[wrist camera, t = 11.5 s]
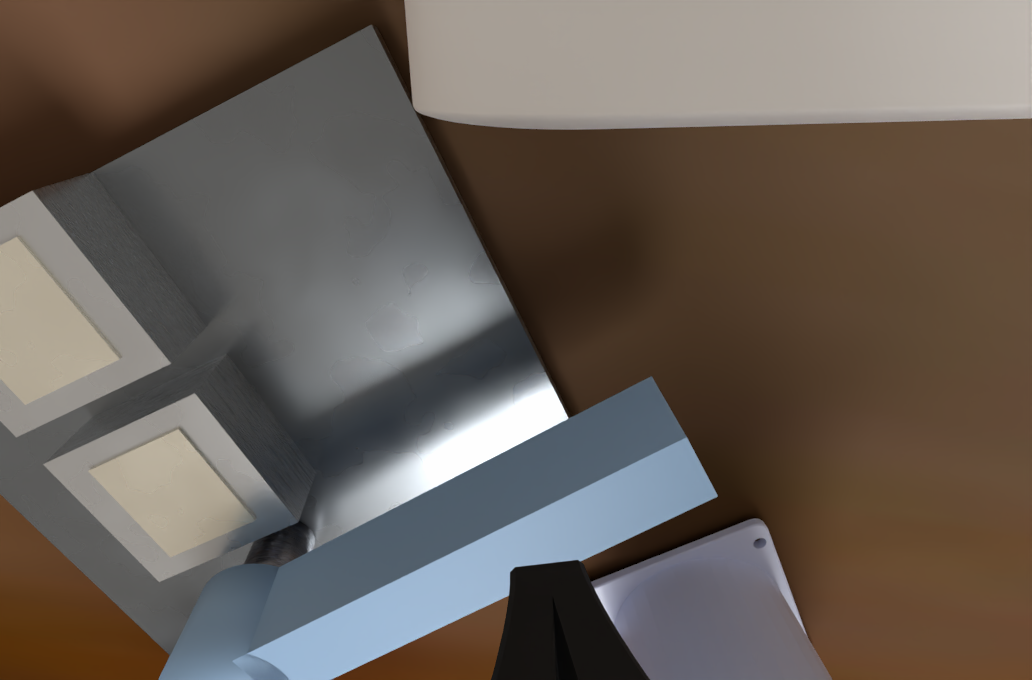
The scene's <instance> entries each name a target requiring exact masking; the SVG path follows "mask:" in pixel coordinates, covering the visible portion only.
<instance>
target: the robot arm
mask: <svg viewBox="0 0 1032 680" xmlns="http://www.w3.org/2000/svg"><path fill="white" fill-rule="evenodd" d="M759 538H761V539H759ZM757 539H759V540H758V541H755V540H757ZM491 680H832V678H831V676H830V675H829V673H828V671H827V670H826V668H825V666H824V664H823V663H822V661H821V659H820V658H819V656H818V654H817V652H816V651H815V649H814V647H813V646H812V644H811V642H810V641H809V639H808V637H807V634H806V631H805V629H804V626H803V623H802V620H801V618H800V615H799V612H798V609H797V607H796V604H795V601H794V598H793V596H792V593H791V590H790V587H789V585H788V582H787V579H786V576H785V574H784V571H783V568H782V566H781V563H780V560H779V557H778V555H777V552H776V549H775V546H774V544H773V541H772V538H771V535H770V533H769V530H768V528H767V526H766V525H765V523H764V522H763V521H762V520H760V519H755V518H754V519H750V520H747V521H744V522H742V523H739V524H737V525H734V526H732V527H729V528H727V529H724V530H722V531H719V532H716V533H714V534H711V535H709V536H706V537H704V538H701V539H699V540H696V541H694V542H691V543H688V544H686V545H683V546H681V547H678V548H676V549H673V550H671V551H668V552H666V553H663V554H661V555H658V556H655V557H653V558H650V559H648V560H645V561H643V562H640V563H638V564H635V565H633V566H630V567H628V568H625V569H622V570H620V571H617V572H615V573H612V574H610V575H607V576H605V577H602V578H600V579H597V580H594V581H592V582H591V581H590V579H589V576H588V574H587V572H586V569H585V567H584V564H583V563H581V562H580V561H579V560H572V561H563V562H555V563H546V564H537V565H529V566H520V567H515V568H514V569H513V570H512V571H511V572H510V590H509V600H508V607H507V614H506V619H505V625H504V630H503V634H502V639H501V643H500V647H499V651H498V656H497V660H496V664H495V668H494V672H493V675H492V679H491Z"/></svg>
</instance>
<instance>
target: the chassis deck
mask: <svg viewBox="0 0 1032 680" xmlns="http://www.w3.org/2000/svg"><path fill="white" fill-rule="evenodd" d="M92 173H93V175H94V176H95V177H96V179H97V180H98V181H99V183H100V184H101V185H102V187H103V188H104V189H105V191H106V192H107V193H108V195H109V196H110V197H111V199H112V200H113V201H114V203H115V204H116V205H117V207H118V208H119V209H120V211H121V212H122V213H123V215H124V216H125V217H126V219H127V220H128V221H129V223H130V224H131V225H132V227H133V228H134V229H135V231H136V232H137V233H138V235H139V236H140V237H141V239H142V240H143V241H144V243H145V244H146V245H147V247H148V248H149V249H150V251H151V252H152V253H153V255H154V256H155V257H156V259H157V260H158V261H159V263H160V264H161V265H162V267H163V268H164V269H165V271H166V272H167V273H168V275H169V276H170V277H171V279H172V280H173V281H174V283H175V284H176V285H177V287H178V288H179V289H180V291H181V292H182V293H183V295H184V296H185V297H186V299H187V300H188V301H189V303H190V304H191V305H192V307H193V308H194V309H195V311H196V312H197V313H198V315H199V316H200V317H201V319H202V320H203V321H204V323H205V324H206V325H207V327H206V328H205V329H204V330H203V331H202V332H201V333H200V334H199V335H198V336H197V337H196V338H195V339H194V340H193V341H192V342H191V343H190V345H189V346H188V347H187V348H186V349H185V350H184V351H183V352H182V353H181V354H180V355H179V356H178V357H177V358H176V359H175V360H174V361H173V362H172V363H171V364H169V365H167V366H165V367H163V368H161V369H159V370H157V371H155V372H152V373H150V374H148V375H146V376H144V377H142V378H140V379H138V380H136V381H134V382H132V383H129V384H127V385H125V386H123V387H121V388H119V389H117V390H115V391H113V392H111V393H108V394H106V395H104V396H102V397H100V398H98V399H96V400H94V401H92V402H90V403H88V404H85V405H83V406H81V407H79V408H77V409H75V410H73V411H71V412H69V413H67V414H64V415H62V416H60V417H58V418H56V419H54V420H52V421H50V422H48V423H46V424H43V425H41V426H39V427H37V428H35V429H33V430H31V431H29V432H27V433H25V434H23V435H20V436H18V437H15V436H14V435H13V434H12V433H11V431H10V430H9V429H8V428H7V427H6V426H5V425H4V424H3V423H2V422H1V421H0V494H1V495H2V496H3V497H4V498H5V499H6V500H7V501H8V502H9V503H10V504H11V505H12V506H13V507H14V508H16V509H17V510H18V511H19V512H20V513H21V514H22V515H23V516H24V517H25V518H26V519H27V520H28V521H29V522H30V523H31V524H32V525H33V526H34V527H36V528H37V529H38V530H39V531H40V532H41V533H42V534H43V535H44V536H45V537H46V538H47V539H48V540H49V541H50V542H51V543H52V544H53V545H54V546H56V547H57V548H58V549H59V550H60V551H61V552H62V553H63V554H64V555H65V556H66V557H67V558H68V559H69V560H70V561H71V562H72V563H73V564H74V565H76V566H77V567H78V568H79V569H80V570H81V571H82V572H83V573H84V574H85V575H86V576H87V577H88V578H89V579H90V580H91V581H92V582H93V583H94V584H96V585H97V586H98V587H99V588H100V589H101V590H102V591H103V592H104V593H105V594H106V595H107V596H108V597H109V598H110V599H111V600H112V601H113V602H114V603H116V604H117V605H118V606H119V607H120V608H121V609H122V610H123V611H124V612H125V613H126V614H127V615H128V616H129V617H130V618H131V619H132V620H133V621H134V622H136V623H137V624H138V625H139V626H140V627H141V628H142V629H143V630H144V631H145V632H146V633H147V634H148V635H149V636H150V637H151V638H152V639H153V640H154V641H156V642H157V643H158V644H159V645H160V646H161V647H162V648H163V649H164V650H165V651H166V652H167V653H168V654H169V655H171V653H172V651H173V649H174V647H175V645H176V643H177V641H178V639H179V637H180V635H181V633H182V631H183V629H184V627H185V625H186V623H187V621H188V619H189V617H190V615H191V613H192V611H193V608H194V606H195V604H196V602H197V600H198V598H199V596H200V594H201V592H202V590H203V588H204V587H205V585H206V584H207V582H208V581H209V580H210V579H211V578H212V577H214V576H215V575H216V574H218V573H219V572H221V571H223V570H225V569H227V568H230V567H233V566H237V565H242V564H244V562H245V560H246V558H247V555H248V553H249V551H250V548H251V546H252V544H253V542H254V541H253V542H251V543H249V544H246V545H244V546H242V547H239V548H237V549H235V550H232V551H230V552H228V553H225V554H223V555H221V556H218V557H216V558H214V559H212V560H209V561H207V562H205V563H202V564H200V565H198V566H195V567H193V568H191V569H188V570H186V571H184V572H181V573H179V574H177V575H174V576H172V577H170V578H167V579H165V580H163V581H160V582H159V581H158V580H157V579H156V578H155V577H154V576H153V575H152V574H151V573H150V572H149V571H148V570H147V569H146V568H145V567H144V566H143V565H142V564H141V563H140V562H139V561H138V560H137V559H136V558H135V557H134V556H133V555H132V554H131V553H130V552H129V551H128V550H127V549H126V548H125V547H124V546H123V545H122V544H121V543H120V542H119V541H118V540H117V539H116V538H115V537H114V536H113V535H112V534H111V533H110V532H109V531H108V530H107V529H106V528H105V527H104V526H103V525H102V524H101V523H100V522H99V521H98V520H97V519H96V518H95V517H94V516H93V515H92V514H91V513H90V512H89V511H88V510H87V509H86V507H85V506H84V505H83V504H82V503H81V502H80V501H79V500H78V499H77V498H76V497H75V496H74V495H73V494H72V493H71V492H70V491H69V490H68V489H67V488H66V487H65V486H64V485H63V484H62V483H61V482H60V481H59V480H58V479H57V478H56V477H55V476H54V475H53V474H52V473H51V472H50V471H49V470H48V469H47V468H46V467H45V466H44V465H43V464H44V463H45V462H46V461H47V460H48V459H49V458H50V457H51V456H52V455H53V454H54V453H55V452H56V451H57V450H58V449H59V448H60V447H62V446H63V445H64V444H65V443H66V442H67V441H68V440H69V439H70V438H71V437H72V436H73V435H74V434H75V433H76V432H77V431H78V430H79V429H80V428H81V427H82V426H83V425H84V424H85V423H86V422H87V421H89V420H90V419H91V418H92V417H93V416H96V415H98V414H100V413H102V412H104V411H106V410H108V409H110V408H112V407H115V406H117V405H119V404H121V403H123V402H125V401H127V400H129V399H131V398H134V397H136V396H138V395H140V394H142V393H144V392H146V391H148V390H150V389H153V388H155V387H157V386H159V385H161V384H163V383H165V382H167V381H169V380H172V379H174V378H176V377H178V376H180V375H182V374H184V373H186V372H188V371H191V370H193V369H195V368H197V367H199V366H201V365H203V364H205V363H207V362H210V361H212V360H214V359H216V358H218V357H220V356H222V355H224V354H226V353H228V355H229V356H230V357H231V359H232V360H233V361H234V363H235V364H236V365H237V367H238V368H239V369H240V371H241V372H242V373H243V375H244V376H245V378H246V379H247V380H248V382H249V383H250V384H251V386H252V387H253V388H254V390H255V391H256V392H257V394H258V395H259V396H260V398H261V399H262V400H263V402H264V403H265V404H266V406H267V407H268V408H269V410H270V411H271V412H272V414H273V415H274V416H275V418H276V419H277V420H278V422H279V423H280V424H281V426H282V427H283V428H284V430H285V431H286V432H287V434H288V435H289V436H290V438H291V439H292V440H293V442H294V443H295V444H296V446H297V447H298V448H299V450H300V451H301V452H302V454H303V455H304V456H305V458H306V459H307V460H308V462H309V463H310V464H311V466H312V467H313V468H314V470H315V471H316V474H315V477H314V480H313V483H312V485H311V488H310V491H309V494H308V496H307V499H306V502H305V505H304V507H303V510H302V513H301V516H300V519H299V521H300V522H302V523H304V524H305V525H307V526H308V527H309V528H310V529H311V531H312V533H313V535H314V538H315V544H314V548H313V550H314V549H315V548H317V547H319V546H321V545H323V544H325V543H327V542H329V541H331V540H333V539H335V538H337V537H339V536H341V535H343V534H345V533H347V532H349V531H351V530H353V529H354V528H356V527H358V526H360V525H362V524H364V523H366V522H368V521H370V520H372V519H374V518H376V517H378V516H380V515H382V514H384V513H386V512H388V511H390V510H392V509H393V508H395V507H397V506H399V505H401V504H403V503H405V502H407V501H409V500H411V499H413V498H415V497H417V496H419V495H421V494H423V493H425V492H427V491H429V490H431V489H432V488H434V487H436V486H438V485H440V484H442V483H444V482H446V481H448V480H450V479H452V478H454V477H456V476H458V475H460V474H462V473H464V472H466V471H468V470H470V469H471V468H473V467H475V466H477V465H479V464H481V463H483V462H485V461H487V460H489V459H491V458H493V457H495V456H497V455H499V454H501V453H503V452H505V451H507V450H509V449H510V448H512V447H514V446H516V445H518V444H520V443H522V442H524V441H526V440H528V439H530V438H532V437H534V436H536V435H538V434H540V433H542V432H544V431H546V430H548V429H549V428H551V427H553V426H555V425H557V424H559V423H561V422H563V421H565V420H567V419H569V418H571V416H570V414H569V412H568V410H567V408H566V406H565V404H564V402H563V400H562V398H561V396H560V394H559V392H558V390H557V388H556V386H555V384H554V382H553V380H552V378H551V376H550V374H549V372H548V370H547V368H546V366H545V364H544V362H543V360H542V358H541V356H540V354H539V352H538V350H537V347H536V345H535V343H534V341H533V339H532V337H531V335H530V333H529V331H528V329H527V327H526V325H525V323H524V321H523V319H522V317H521V315H520V313H519V311H518V309H517V307H516V305H515V303H514V301H513V299H512V297H511V295H510V293H509V291H508V289H507V287H506V285H505V283H504V281H503V279H502V277H501V275H500V273H499V271H498V269H497V267H496V265H495V263H494V261H493V259H492V257H491V255H490V253H489V251H488V249H487V247H486V245H485V243H484V241H483V239H482V237H481V235H480V233H479V231H478V229H477V227H476V225H475V223H474V221H473V219H472V217H471V215H470V213H469V211H468V209H467V207H466V205H465V203H464V201H463V199H462V197H461V195H460V193H459V191H458V189H457V187H456V185H455V183H454V181H453V179H452V177H451V175H450V173H449V171H448V169H447V167H446V165H445V163H444V161H443V159H442V157H441V155H440V153H439V151H438V149H437V147H436V145H435V143H434V141H433V139H432V136H431V134H430V132H429V130H428V128H427V126H426V124H425V122H424V120H423V118H422V116H421V114H420V113H419V112H417V111H416V110H415V109H414V107H413V102H412V96H411V94H410V92H409V90H408V88H407V86H406V84H405V82H404V80H403V78H402V76H401V74H400V72H399V70H398V68H397V66H396V64H395V62H394V60H393V58H392V56H391V54H390V52H389V50H388V48H387V46H386V44H385V42H384V40H383V38H382V36H381V34H380V32H379V30H378V28H377V26H374V25H370V26H368V27H366V28H364V29H362V30H360V31H358V32H356V33H355V34H353V35H351V36H349V37H347V38H345V39H343V40H341V41H339V42H337V43H336V44H334V45H332V46H330V47H328V48H326V49H324V50H322V51H320V52H319V53H317V54H315V55H313V56H311V57H309V58H307V59H305V60H303V61H301V62H300V63H298V64H296V65H294V66H292V67H290V68H288V69H286V70H284V71H283V72H281V73H279V74H277V75H275V76H273V77H271V78H269V79H267V80H265V81H264V82H262V83H260V84H258V85H256V86H254V87H252V88H250V89H248V90H247V91H245V92H243V93H241V94H239V95H237V96H235V97H233V98H231V99H229V100H228V101H226V102H224V103H222V104H220V105H218V106H216V107H214V108H212V109H211V110H209V111H207V112H205V113H203V114H201V115H199V116H197V117H195V118H193V119H192V120H190V121H188V122H186V123H184V124H182V125H180V126H178V127H176V128H175V129H173V130H171V131H169V132H167V133H165V134H163V135H161V136H159V137H157V138H156V139H154V140H152V141H150V142H148V143H146V144H144V145H142V146H140V147H139V148H137V149H135V150H133V151H131V152H129V153H127V154H125V155H123V156H122V157H120V158H118V159H116V160H114V161H112V162H110V163H108V164H106V165H104V166H103V167H101V168H99V169H97V170H95V171H93V172H92Z"/></svg>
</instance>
